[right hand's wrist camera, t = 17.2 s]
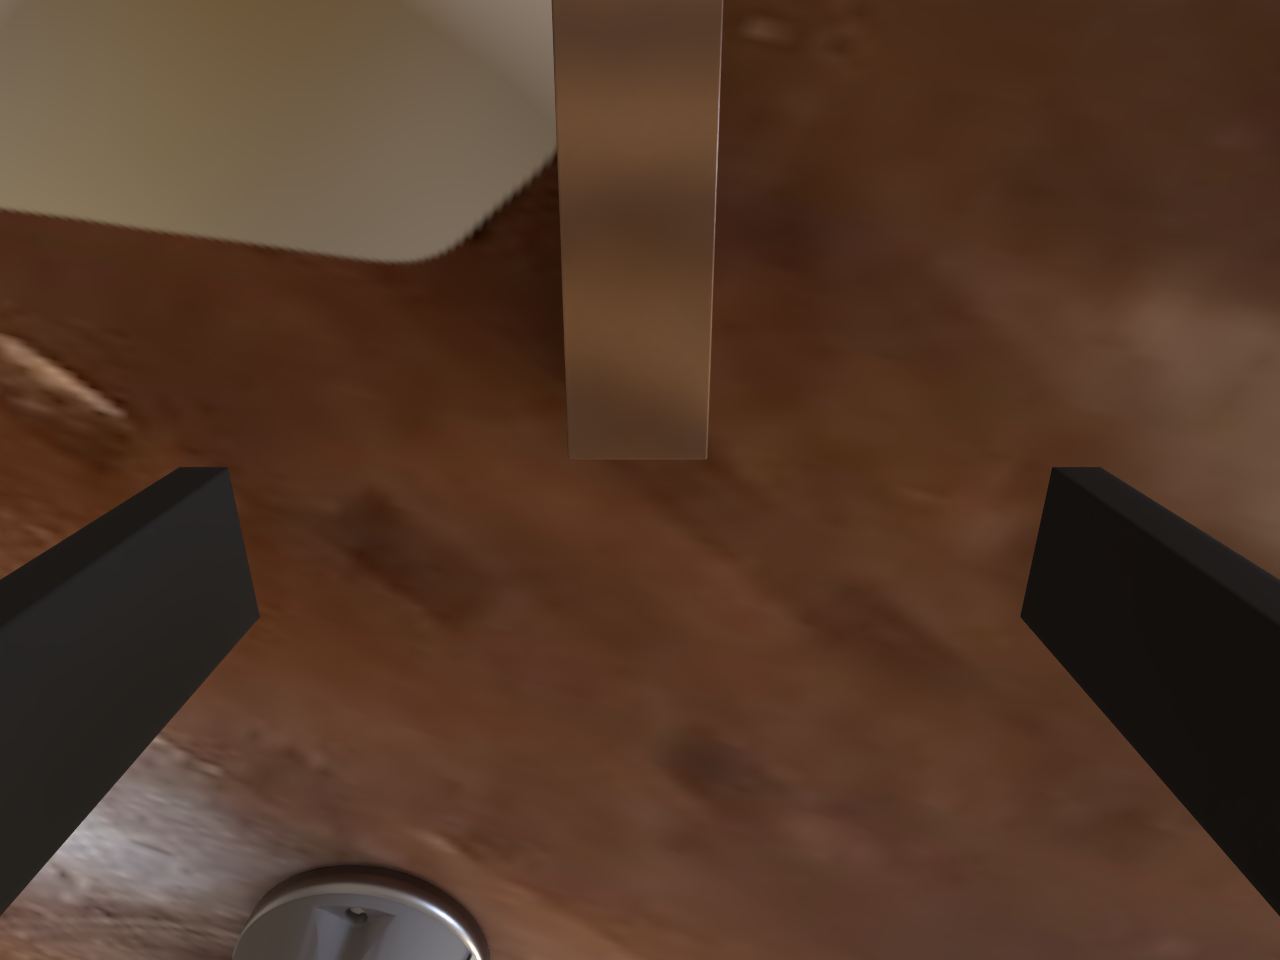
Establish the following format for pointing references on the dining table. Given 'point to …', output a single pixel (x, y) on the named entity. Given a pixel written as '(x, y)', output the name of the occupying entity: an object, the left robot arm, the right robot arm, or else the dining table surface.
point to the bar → (637, 221)
